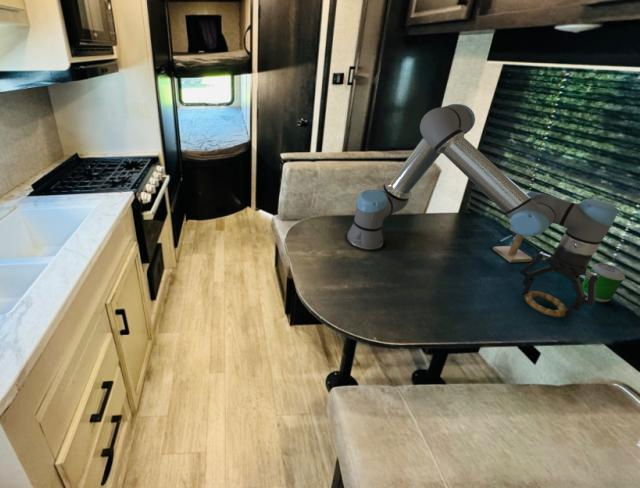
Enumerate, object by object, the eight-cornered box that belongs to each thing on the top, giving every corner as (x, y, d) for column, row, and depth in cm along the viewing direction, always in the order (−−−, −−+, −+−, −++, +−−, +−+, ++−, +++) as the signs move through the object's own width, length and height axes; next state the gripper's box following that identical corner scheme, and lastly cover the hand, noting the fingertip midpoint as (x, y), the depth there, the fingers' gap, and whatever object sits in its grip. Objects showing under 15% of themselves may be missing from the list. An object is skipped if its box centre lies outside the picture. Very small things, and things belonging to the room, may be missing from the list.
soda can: (612, 298, 109) (630, 271, 104) (604, 306, 106) (622, 279, 101) (582, 285, 115) (598, 259, 110) (574, 292, 112) (590, 266, 106)
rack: (492, 249, 135) (503, 222, 130) (512, 248, 136) (523, 221, 130) (510, 262, 127) (522, 234, 121) (531, 261, 128) (544, 233, 122)
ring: (515, 294, 108) (517, 290, 107) (544, 293, 109) (546, 289, 108) (544, 319, 99) (546, 314, 98) (574, 317, 99) (577, 312, 98)
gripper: (524, 235, 101) (499, 287, 110) (630, 275, 83) (590, 333, 93) (532, 228, 104) (508, 279, 114) (635, 265, 87) (596, 322, 97)
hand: (545, 303), depth 103 cm, fingers closed on ring, 10 cm apart
